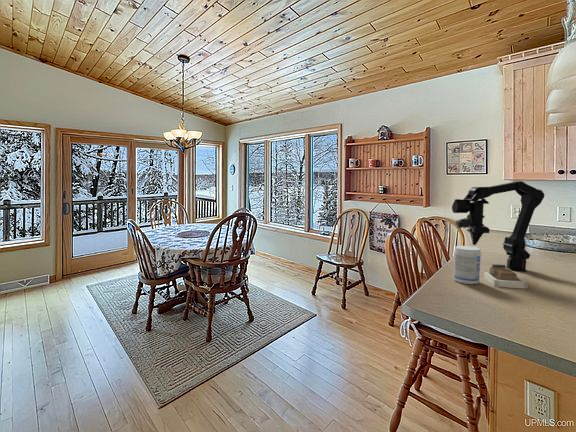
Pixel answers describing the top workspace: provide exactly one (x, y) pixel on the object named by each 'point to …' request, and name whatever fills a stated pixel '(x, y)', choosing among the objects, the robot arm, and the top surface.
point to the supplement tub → (467, 264)
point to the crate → (502, 273)
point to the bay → (506, 282)
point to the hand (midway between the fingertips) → (474, 244)
